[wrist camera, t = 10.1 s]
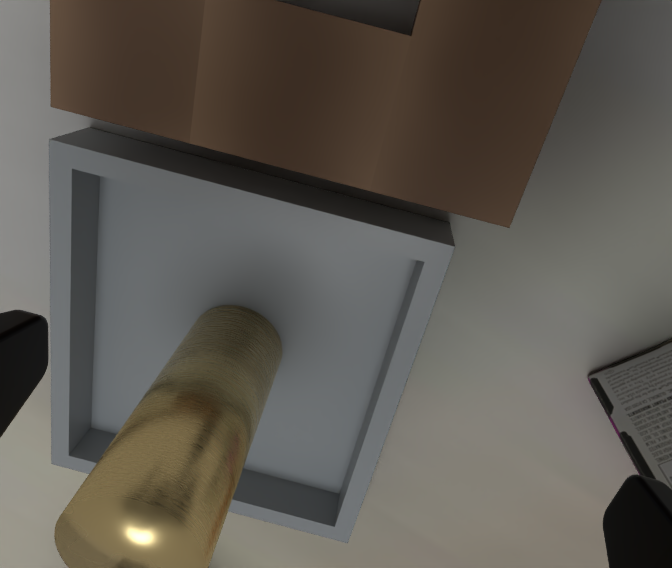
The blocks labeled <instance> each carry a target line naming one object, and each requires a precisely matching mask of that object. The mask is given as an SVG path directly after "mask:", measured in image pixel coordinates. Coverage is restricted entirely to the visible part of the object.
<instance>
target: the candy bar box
mask: <svg viewBox="0 0 672 568" xmlns="http://www.w3.org/2000/svg"><path fill="white" fill-rule="evenodd" d="M588 381H589V383H590V384H591V386H592V388H593V390H594V392H595V394H596V395H597V397H598V399H599V401H600V403H601V405H602V406H603V408H604V410H605V412H606V414H607V416H608V418H609V419H610V421H611V423H612V425H613V427H614V429H615V431H616V433H617V434H618V436H619V438H620V440H621V442H622V444H623V446H624V447H625V449H626V451H627V453H628V455H629V457H630V459H631V460H632V462H633V464H634V466H635V468H636V470H637V471H638V473H639V475H641V476H645V477H648V478H652V479H656V480H659V481H661V482H663V483H665V484H666V485H667V486H668V487H669V488H671V489H672V339H670V340H668V341H666V342H664V343H662V344H661V345H659V346H657V347H655V348H652V349H650V350H648V351H646V352H644V353H642V354H639V355H637V356H634V357H632V358H629V359H627V360H624V361H622V362H619V363H617V364H614V365H612V366H609V367H607V368H605V369H603V370H601V371H599V372H596V373H594V374H592V375H590V376H589V377H588Z"/></svg>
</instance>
